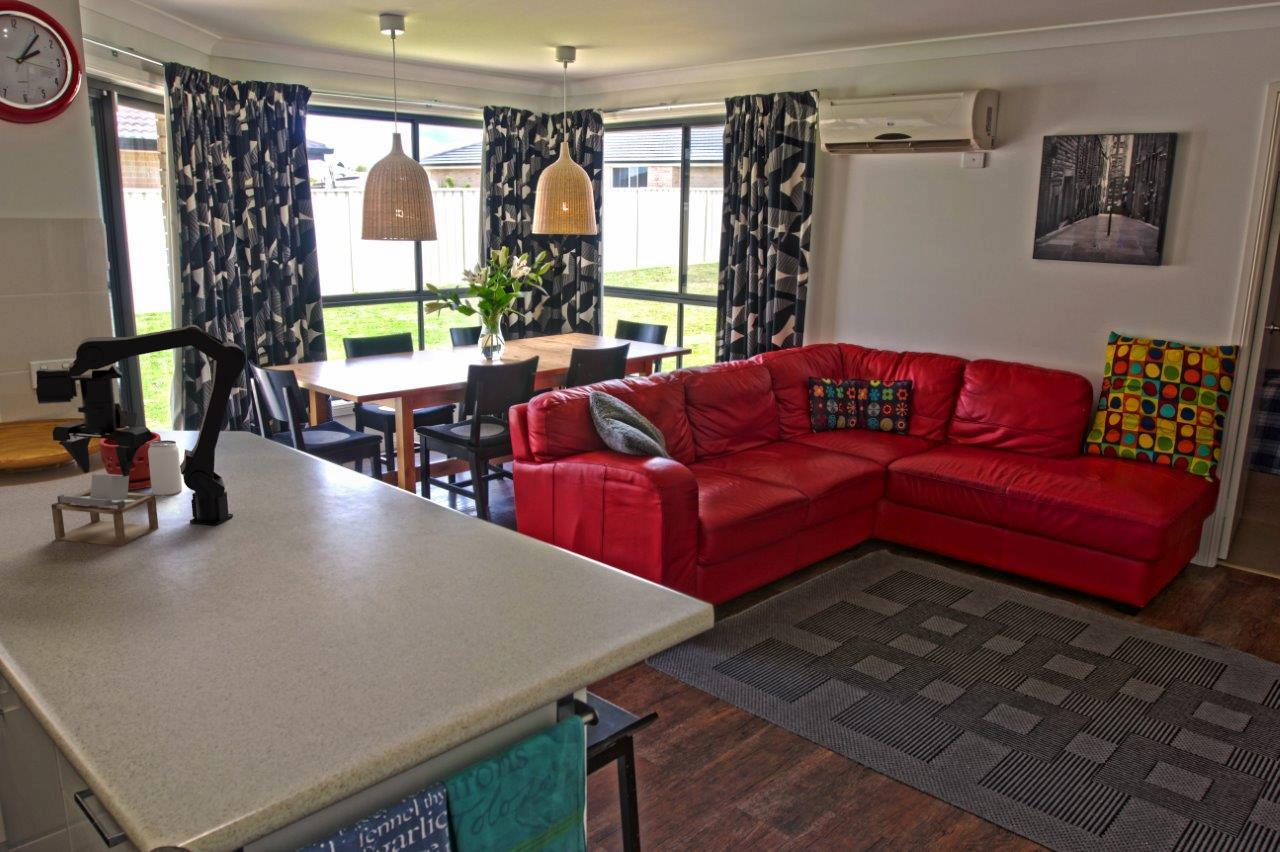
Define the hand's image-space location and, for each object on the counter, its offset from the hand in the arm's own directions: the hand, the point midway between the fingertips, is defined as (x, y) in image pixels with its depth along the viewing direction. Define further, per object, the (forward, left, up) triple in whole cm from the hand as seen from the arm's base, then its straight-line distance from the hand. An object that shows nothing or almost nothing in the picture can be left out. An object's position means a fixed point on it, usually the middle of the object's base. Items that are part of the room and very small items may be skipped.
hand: (106, 474), depth 194 cm
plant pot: (+18, -30, -13) cm, 37 cm away
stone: (0, 0, -5) cm, 5 cm away
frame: (0, +1, -12) cm, 13 cm away
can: (+7, -27, -13) cm, 30 cm away
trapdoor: (0, +3, -5) cm, 6 cm away
